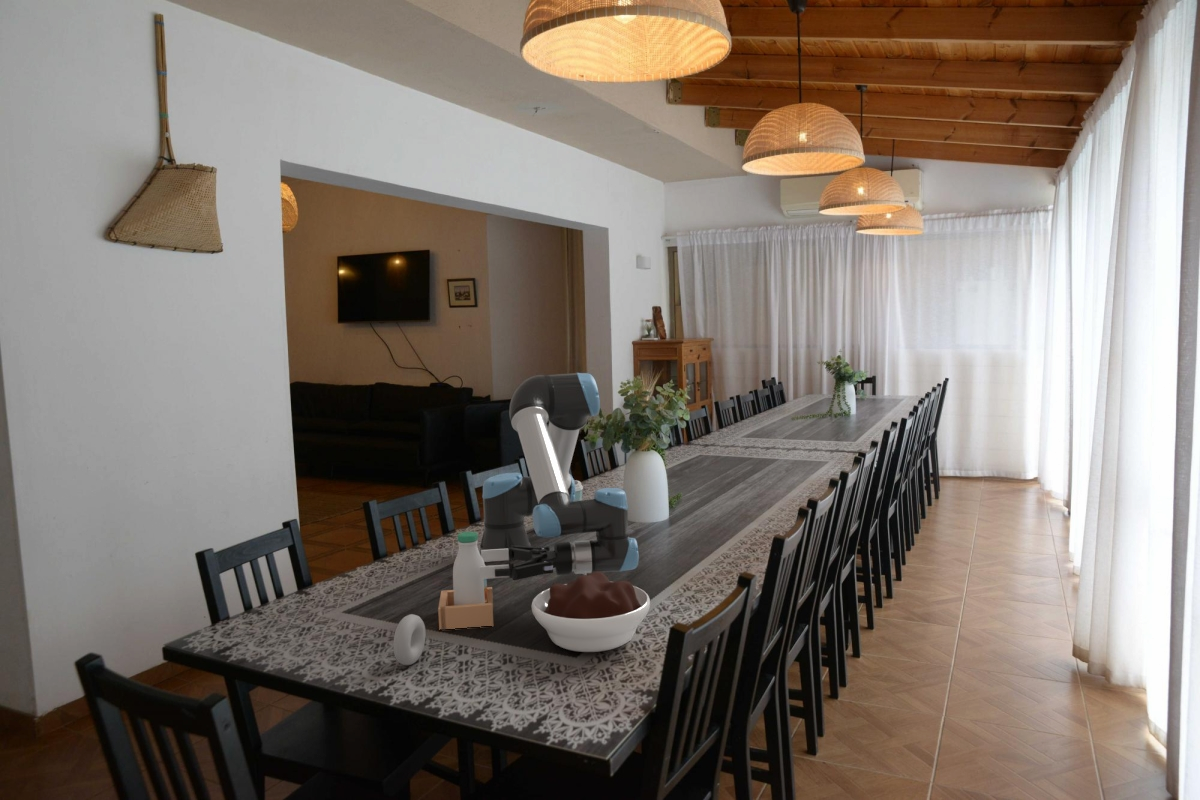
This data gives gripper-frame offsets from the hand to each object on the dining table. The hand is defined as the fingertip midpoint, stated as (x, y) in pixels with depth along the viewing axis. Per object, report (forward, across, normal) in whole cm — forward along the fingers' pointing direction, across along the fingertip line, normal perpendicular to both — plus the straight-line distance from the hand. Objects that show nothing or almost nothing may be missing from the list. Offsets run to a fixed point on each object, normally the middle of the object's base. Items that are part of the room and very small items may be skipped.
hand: (480, 564), depth 194 cm
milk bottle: (+3, 0, -13) cm, 13 cm away
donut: (+14, -24, -13) cm, 30 cm away
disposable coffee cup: (-26, +81, -13) cm, 86 cm away
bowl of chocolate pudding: (-24, -20, -13) cm, 34 cm away
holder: (+3, 0, -13) cm, 13 cm away
